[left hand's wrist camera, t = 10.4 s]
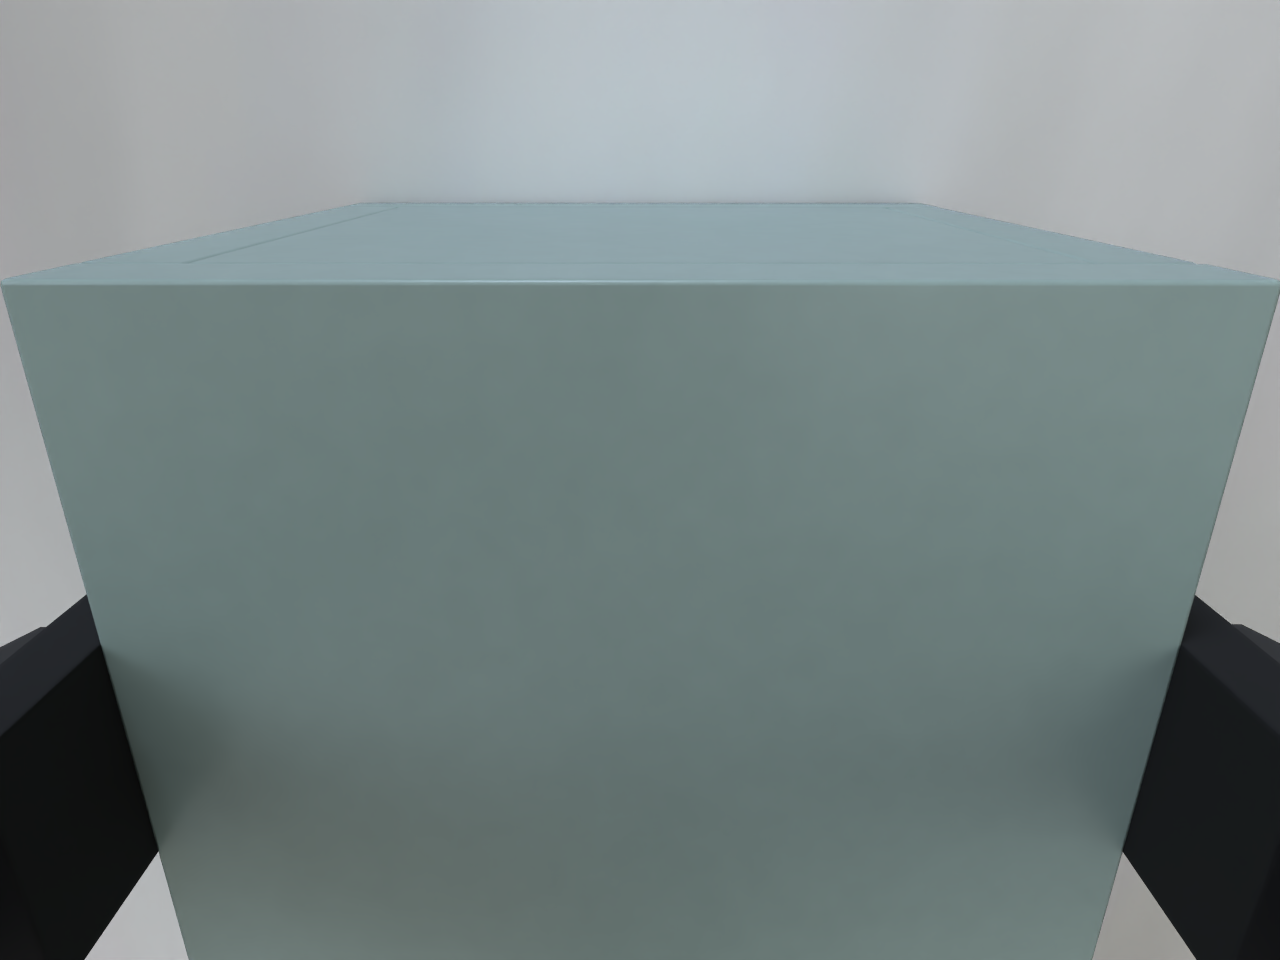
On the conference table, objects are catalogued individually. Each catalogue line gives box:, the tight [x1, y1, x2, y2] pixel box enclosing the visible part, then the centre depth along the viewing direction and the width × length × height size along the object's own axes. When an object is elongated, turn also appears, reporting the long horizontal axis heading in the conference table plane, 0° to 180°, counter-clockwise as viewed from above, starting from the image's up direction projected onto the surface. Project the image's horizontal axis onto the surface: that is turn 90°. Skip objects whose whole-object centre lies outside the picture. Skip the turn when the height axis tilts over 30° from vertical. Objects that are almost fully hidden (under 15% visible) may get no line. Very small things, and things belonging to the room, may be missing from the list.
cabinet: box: [1, 203, 1280, 960], centre depth 15 cm, size 21×11×10 cm, turn 0°
